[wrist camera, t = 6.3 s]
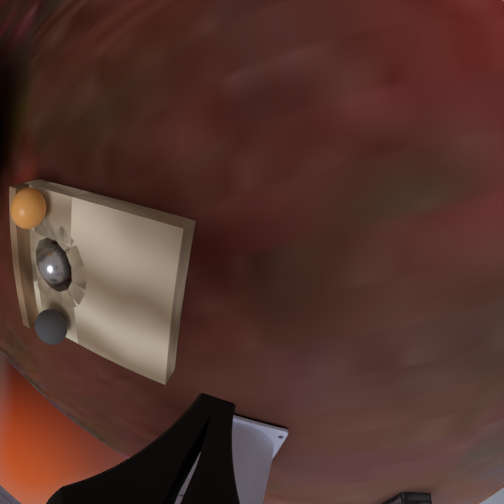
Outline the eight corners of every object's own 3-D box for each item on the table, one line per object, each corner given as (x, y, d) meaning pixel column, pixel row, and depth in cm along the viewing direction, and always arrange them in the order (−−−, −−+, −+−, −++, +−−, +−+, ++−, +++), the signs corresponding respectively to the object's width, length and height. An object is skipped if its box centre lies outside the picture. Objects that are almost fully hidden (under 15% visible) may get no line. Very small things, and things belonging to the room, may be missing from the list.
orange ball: (53, 227, 19) (25, 238, 16) (31, 218, 19) (4, 228, 16) (54, 187, 18) (24, 196, 15) (31, 181, 18) (3, 188, 15)
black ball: (75, 338, 22) (55, 356, 19) (52, 325, 22) (32, 341, 20) (72, 310, 21) (49, 328, 18) (48, 298, 21) (25, 313, 19)
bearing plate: (174, 369, 23) (157, 397, 20) (45, 308, 25) (23, 324, 22) (195, 220, 19) (172, 235, 15) (39, 179, 20) (9, 186, 17)
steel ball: (47, 258, 22) (78, 269, 23) (32, 283, 20) (65, 296, 21) (47, 231, 20) (80, 243, 21) (30, 256, 18) (64, 270, 19)
